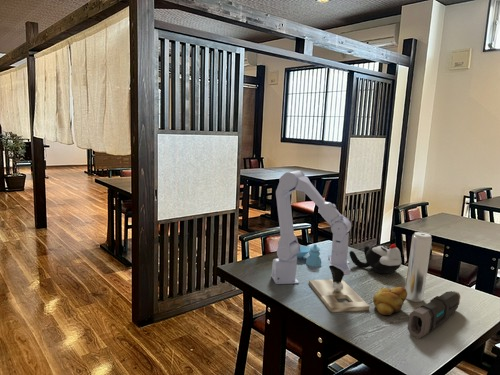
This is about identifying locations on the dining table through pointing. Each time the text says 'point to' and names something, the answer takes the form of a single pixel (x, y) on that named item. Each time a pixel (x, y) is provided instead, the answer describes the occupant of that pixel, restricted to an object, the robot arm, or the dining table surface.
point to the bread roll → (389, 300)
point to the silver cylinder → (418, 266)
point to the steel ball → (337, 286)
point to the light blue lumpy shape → (314, 255)
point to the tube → (432, 313)
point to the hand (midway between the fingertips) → (337, 285)
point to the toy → (379, 258)
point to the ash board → (338, 296)
